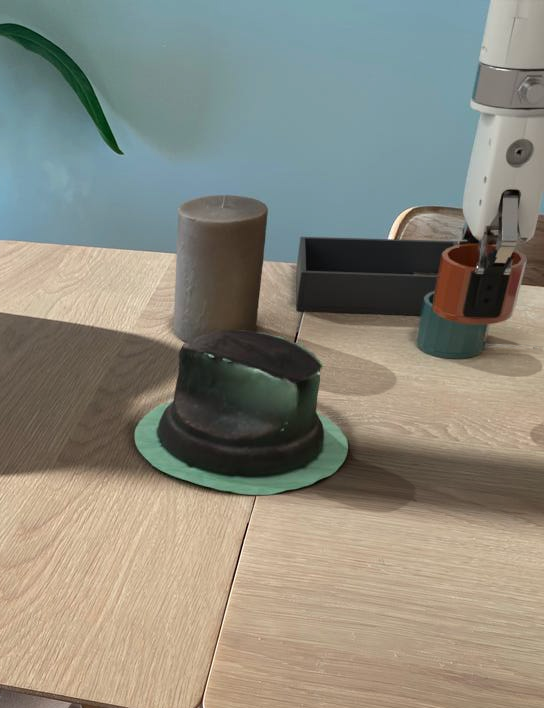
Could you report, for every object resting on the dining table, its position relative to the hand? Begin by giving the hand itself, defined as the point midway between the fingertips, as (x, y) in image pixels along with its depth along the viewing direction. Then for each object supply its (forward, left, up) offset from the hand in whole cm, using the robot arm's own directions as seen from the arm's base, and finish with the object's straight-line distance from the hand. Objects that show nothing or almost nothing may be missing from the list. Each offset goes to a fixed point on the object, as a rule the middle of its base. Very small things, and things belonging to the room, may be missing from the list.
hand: (474, 298), depth 91 cm
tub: (+6, -29, -10) cm, 31 cm away
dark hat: (+20, +11, -11) cm, 26 cm away
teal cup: (-1, -14, -10) cm, 17 cm away
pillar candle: (+25, -15, -11) cm, 31 cm away
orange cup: (0, 0, -1) cm, 1 cm away
